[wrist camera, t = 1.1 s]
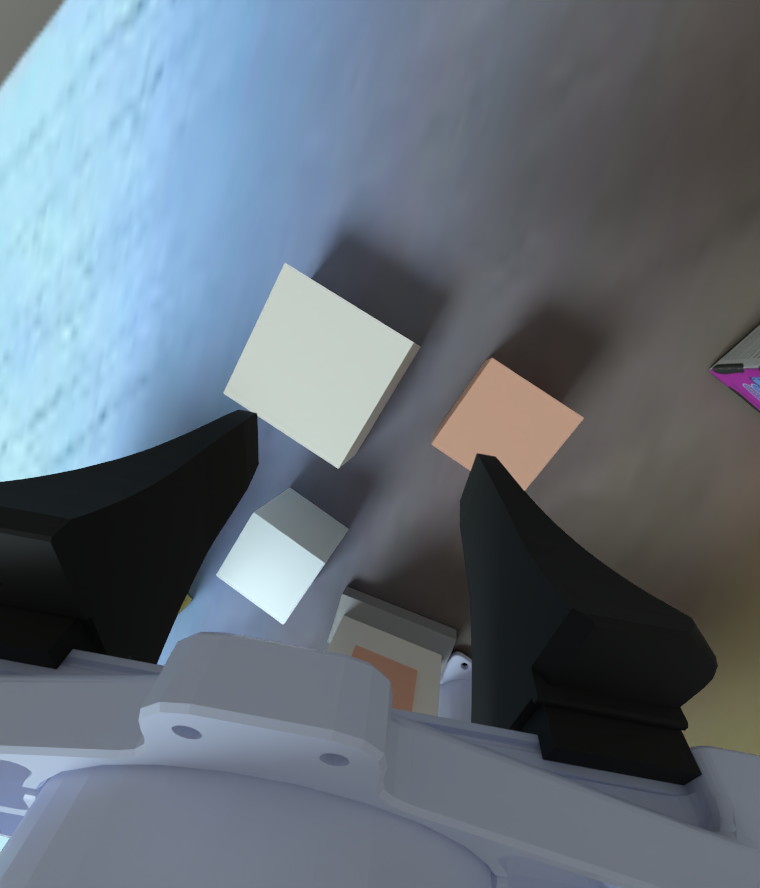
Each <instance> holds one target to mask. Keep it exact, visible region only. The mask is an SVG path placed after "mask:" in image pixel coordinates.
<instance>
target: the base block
mask: <svg viewBox="0 0 760 888" xmlns="http://www.w3.org/2000/svg"><path fill="white" fill-rule="evenodd" d="M419 349H420V346H419V345H417V344H415V343H414V342H412V341H411V340H409V339H407V338H406V337H404V336H403V335H401V334H399V333H398V332H396V331H394V330H393V329H391V328H390V327H388V326H386V325H385V324H383V323H382V322H380V321H378V320H377V319H375V318H373V317H372V316H370V315H369V314H367V313H365V312H364V311H362V310H360V309H359V308H357V307H356V306H354V305H352V304H351V303H349V302H348V301H346V300H344V299H343V298H341V297H339V296H338V295H336V294H335V293H333V292H331V291H330V290H328V289H326V288H325V287H323V286H322V285H320V284H318V283H317V282H315V281H314V280H312V279H310V278H309V277H307V276H305V275H304V274H302V273H301V272H299V271H297V270H296V269H294V268H293V267H291V266H289V265H288V264H286V263H285V264H284V266H283V268H282V270H281V272H280V274H279V277H278V279H277V281H276V283H275V285H274V287H273V289H272V291H271V293H270V296H269V298H268V300H267V302H266V304H265V306H264V308H263V310H262V312H261V315H260V317H259V319H258V321H257V323H256V325H255V327H254V329H253V331H252V334H251V336H250V338H249V340H248V342H247V344H246V346H245V348H244V350H243V353H242V355H241V357H240V359H239V361H238V363H237V365H236V367H235V369H234V372H233V374H232V376H231V378H230V380H229V382H228V384H227V386H226V388H225V391H224V393H223V394H225V395H226V396H228V397H230V398H231V399H233V400H234V401H236V402H237V403H239V404H240V405H242V406H243V407H245V408H246V409H248V410H249V411H251V412H254V413H257V416H258V417H260V418H262V419H263V420H265V421H266V422H268V423H269V424H271V425H272V426H274V427H275V428H277V429H278V430H280V431H281V432H283V433H284V434H286V435H287V436H289V437H291V438H292V439H294V440H295V441H297V442H298V443H300V444H301V445H303V446H304V447H306V448H307V449H309V450H310V451H312V452H313V453H315V454H316V455H318V456H319V457H321V458H323V459H324V460H326V461H327V462H329V463H330V464H332V465H333V466H335V467H336V468H338V469H339V468H340V467H341V466H343V465H344V464H345V463H346V462H348V461H349V460H350V459H351V458H353V457H354V456H355V455H356V453H357V452H358V450H359V448H360V447H361V445H362V444H363V442H364V440H365V439H366V437H367V435H368V434H369V432H370V430H371V429H372V427H373V425H374V424H375V422H376V420H377V419H378V417H379V415H380V414H381V412H382V410H383V409H384V407H385V405H386V404H387V402H388V400H389V399H390V397H391V395H392V394H393V392H394V391H395V389H396V387H397V386H398V384H399V382H400V381H401V379H402V377H403V376H404V374H405V372H406V371H407V369H408V367H409V366H410V364H411V362H412V361H413V359H414V357H415V356H416V354H417V352H418V351H419Z"/></svg>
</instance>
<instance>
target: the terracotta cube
mask: <svg viewBox="0 0 760 888" xmlns="http://www.w3.org/2000/svg"><path fill="white" fill-rule="evenodd" d="M583 419H584V418H583V417H582V416H580V415H579V414H577V413H576V412H574V411H573V410H571V409H570V408H568V407H567V406H565V405H563V404H562V403H560V402H559V401H557V400H556V399H554V398H553V397H551V396H550V395H548V394H547V393H545V392H544V391H542V390H541V389H539V388H538V387H536V386H535V385H533V384H531V383H530V382H528V381H527V380H525V379H524V378H522V377H521V376H519V375H518V374H516V373H515V372H513V371H512V370H510V369H509V368H507V367H506V366H504V365H502V364H501V363H499V362H498V361H496V360H495V359H493V358H490V359H487V360H485V361H484V363H483V364H482V366H481V367H480V369H479V370H478V371H477V373H476V374H475V376H474V377H473V379H472V380H471V381H470V383H469V384H468V386H467V387H466V389H465V390H464V391H463V393H462V394H461V396H460V397H459V399H458V400H457V401H456V403H455V404H454V406H453V407H452V409H451V410H450V411H449V413H448V414H447V416H446V417H445V419H444V420H443V421H442V423H441V424H440V426H439V427H438V429H437V430H436V433H435V435H434V438H433V441H432V443H431V444H432V445H433V446H435V447H436V448H437V449H439V450H440V451H442V452H443V453H445V454H446V455H448V456H449V457H451V458H452V459H454V460H455V461H457V462H458V463H460V464H461V465H463V466H464V467H465V468H467V469H468V470H470V471H471V468H472V466H473V463H474V460H475V457H476V454H477V453H479V454H485V455H490V456H496V457H497V459H498V460H499V461H500V462H501V463H502V464H503V466H504V467H505V468H506V469H507V470H508V472H509V473H510V474H511V475H512V477H513V478H514V479H515V480H516V482H517V483H518V484H519V485H520V486H521V487H522V489H523V490H524V491H525V490H526V489H527V487H528V486H529V485H530V484H531V483H532V481H533V480H534V479H535V478H536V476H537V475H538V474H539V473H540V471H541V470H542V469H543V468H544V467H545V465H546V464H547V463H548V462H549V460H550V459H551V458H552V457H553V455H554V454H555V453H556V452H557V451H558V449H559V448H560V447H561V446H562V444H563V443H564V442H565V441H566V440H567V438H568V437H569V436H570V435H571V433H572V432H573V431H574V430H575V428H576V427H577V426H578V425H579V424H580V422H581V421H582V420H583Z"/></svg>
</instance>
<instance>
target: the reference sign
mask: <svg viewBox="0 0 760 888" xmlns="http://www.w3.org/2000/svg"><path fill="white" fill-rule="evenodd" d="M456 637H457V630H456V629H453V628H451V627H448V626H446V625H443V624H441V623H438V622H436V621H433V620H431V619H428V618H426V617H423V616H421V615H418V614H416V613H413V612H411V611H408V610H405V609H403V608H400V607H398V606H395V605H393V604H390V603H388V602H385V601H383V600H380V599H378V598H375V597H373V596H370V595H368V594H365V593H363V592H360V591H358V590H355V589H353V588H350V587H347V586H346V588H345V590H344V592H343V594H342V597H341V600H340V604H339V607H338V610H337V613H336V616H335V620H334V623H333V626H332V629H331V632H330V636H329V639H328V642H329V643H330V645H329V647H328V649H327V651H328V652H333V653H338V654H344V655H348V656H351V657H354V658H357V659H360V660H363V661H366V662H369V663H371V664H372V665H373V666H375V667H376V668H377V669H378V670H379V671H381V672H382V673H383V674H384V675H385V676H386V677H387V678H388V679H389V680H390V682H391V688H392V693H393V702H392V708H395V709H400V710H405V711H411V712H416V713H422V714H427V715H432V716H438V706H439V690H440V679H441V676H442V674H443V672H444V669H445V667H446V664H447V662H448V659H449V657H450V654H451V652H452V649H453V647H454V644H455V642H456Z"/></svg>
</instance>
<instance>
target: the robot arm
mask: <svg viewBox="0 0 760 888" xmlns="http://www.w3.org/2000/svg"><path fill="white" fill-rule="evenodd" d="M258 464H259V462H258V424H257V413H254V412H248V411H243V410H237V411H234V412H232V413H230V414H227V415H225V416H223V417H221V418H219V419H217V420H215V421H213V422H210V423H208V424H206V425H204V426H202V427H200V428H198V429H196V430H193V431H191V432H189V433H187V434H185V435H182V436H180V437H177V438H175V439H173V440H170V441H168V442H165V443H163V444H161V445H158V446H156V447H153V448H150V449H147V450H145V451H142V452H139V453H136V454H133V455H129V456H126V457H123V458H120V459H116V460H113V461H109V462H105V463H101V464H97V465H93V466H89V467H85V468H81V469H77V470H72V471H67V472H62V473H57V474H51V475H46V476H40V477H34V478H28V479H21V480H13V481H5V482H0V836H4V837H8V838H10V839H9V840H8V842H7V843H6V845H5V846H4V848H3V849H2V851H1V852H0V888H760V757H759V756H757V755H755V754H750V753H745V752H739V751H734V750H728V749H723V748H717V747H712V746H696V747H691V748H689V746H688V744H687V742H686V739H685V737H684V735H683V733H682V731H681V730H686V729H687V728H688V722H687V720H686V718H685V716H684V714H683V712H682V710H681V708H680V707H681V706H682V705H683V704H685V703H686V702H687V701H688V700H689V699H691V698H692V697H693V696H694V695H696V694H697V693H698V692H699V691H701V690H702V689H703V688H704V687H705V686H706V685H707V684H708V683H709V682H710V681H711V680H712V679H713V677H714V675H715V672H716V669H717V666H718V665H717V660H716V656H715V655H714V653H713V651H712V650H711V648H710V647H709V645H708V643H707V642H706V640H705V639H704V637H703V635H702V634H701V632H700V631H699V629H698V627H697V626H696V624H695V623H694V621H693V619H692V618H691V617H689V616H687V615H685V614H684V613H682V612H680V611H678V610H677V609H675V608H673V607H671V606H670V605H668V604H666V603H664V602H662V601H661V600H659V599H657V598H655V597H654V596H652V595H650V594H648V593H647V592H645V591H644V590H642V589H640V588H639V587H637V586H636V585H634V584H633V583H631V582H630V581H628V580H627V579H625V578H623V577H622V576H620V575H619V574H618V573H616V572H615V571H613V570H612V569H610V568H609V567H607V566H606V565H605V564H603V563H602V562H601V561H599V560H598V559H597V558H595V557H594V556H593V555H591V554H590V553H589V552H588V551H586V550H585V549H584V548H583V547H581V546H580V545H579V544H578V543H576V542H575V541H574V540H573V539H572V538H571V537H570V536H568V535H567V534H566V533H565V532H564V531H563V530H562V529H560V528H559V527H558V526H557V525H556V524H555V523H554V522H553V521H552V520H551V519H550V518H549V517H548V516H547V515H546V514H545V513H544V512H543V511H542V510H541V509H540V508H539V507H538V506H537V504H536V503H535V502H534V501H533V500H532V499H531V498H530V497H529V496H528V494H527V493H526V492H525V491H524V490H523V489H522V487H521V486H520V485H519V484H518V483H517V482H516V480H515V479H514V478H513V477H512V475H511V474H510V473H509V472H508V470H507V469H506V468H505V467H504V466H503V464H502V463H501V462H500V461H499V460H498V459H497V457H496V456H490V455H485V454H479V453H477V454H476V457H475V460H474V463H473V466H472V468H471V471H470V474H469V477H468V480H467V483H466V486H465V489H464V491H463V494H462V497H461V500H460V529H461V537H462V544H463V551H464V558H465V565H466V571H467V578H468V585H469V594H470V610H471V648H472V660H471V659H470V658H469V657H467V656H466V655H464V654H463V653H461V652H454V653H452V654H451V656H450V657H449V659H448V662H447V664H446V667H445V669H444V672H443V674H442V676H441V679H440V690H439V706H438V716H432V715H427V714H422V713H416V712H411V711H405V710H400V709H395V708H392V702H393V693H392V688H391V682H390V680H389V679H388V678H387V677H386V676H385V675H384V674H383V673H382V672H381V671H379V670H378V669H377V668H376V667H375V666H373V665H372V664H371V663H369V662H366V661H363V660H360V659H357V658H354V657H351V656H348V655H344V654H338V653H333V652H328V651H322V650H317V649H311V648H306V647H301V646H295V645H290V644H284V643H279V642H273V641H268V640H263V639H257V638H252V637H246V636H241V635H235V634H230V633H220V632H200V633H197V634H194V635H192V636H190V637H187V638H185V639H183V640H180V641H178V642H177V644H176V646H175V648H174V649H173V651H172V653H171V655H170V657H169V658H168V660H167V662H166V664H165V666H162V665H157V662H158V660H159V657H160V655H161V652H162V650H163V647H164V645H165V643H166V640H167V638H168V636H169V633H170V631H171V629H172V626H173V624H174V622H175V620H176V617H177V615H178V613H179V610H180V608H181V606H182V604H183V602H184V600H185V597H186V595H187V593H188V591H189V589H190V587H191V585H192V582H193V580H194V578H195V576H196V574H197V572H198V570H199V568H200V566H201V564H202V562H203V560H204V558H205V556H206V554H207V552H208V550H209V549H210V547H211V545H212V544H213V542H214V540H215V539H216V537H217V536H218V534H219V532H220V531H221V529H222V528H223V526H224V525H225V523H226V522H227V520H228V519H229V517H230V515H231V514H232V512H233V511H234V509H235V508H236V506H237V505H238V503H239V501H240V500H241V498H242V497H243V495H244V493H245V492H246V490H247V489H248V486H249V484H250V482H251V480H252V478H253V476H254V473H255V471H256V469H257V466H258ZM462 663H467V664H468V665H462Z"/></svg>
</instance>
